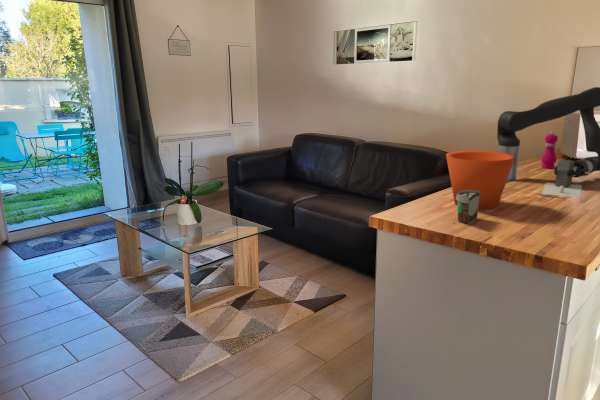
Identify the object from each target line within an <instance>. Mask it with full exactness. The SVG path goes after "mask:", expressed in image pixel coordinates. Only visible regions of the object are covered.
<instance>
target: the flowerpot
mask: <svg viewBox="0 0 600 400" xmlns="http://www.w3.org/2000/svg"><path fill="white" fill-rule="evenodd" d="M445 158H446V161H447V168H448V173H449V178H450V183H451V184H450V185H451V190H452V195H453V201H454V204H455V205H456V206H457V205H458V201H457V200H456V196H457V194H458V192H460V191H465V190H477V191H480V197H479V206H478V209H488V210H494V209H496V208H497V207H499V204H500V200H501V198H502V195H503V193H504V190H505V187H506V185H507V183H508V182H507V179H508V176H509V173H510V170H511V167H512V165H513V162H514V159H515V156H514V155H512V154H508V153H503V152H498V151H494V150H472V149H471V150H457V151H456V150H454V151H451V152H446V154H445ZM493 208H494V209H493Z"/></svg>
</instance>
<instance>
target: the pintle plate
mask: <svg viewBox="0 0 600 400" xmlns="http://www.w3.org/2000/svg"><path fill="white" fill-rule="evenodd" d="M582 187H583V185H582V184H572V183H571V186H569V187H564V186H555V182H547V181H546V182H545V185H544V187H543V189H542V191H541V194H540V197H544V198H555V199H561V197H558V196H562V197H563V199H564V200H565V199H567V198H566V197H572V198H581V195H582ZM564 197H565V198H564Z"/></svg>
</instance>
